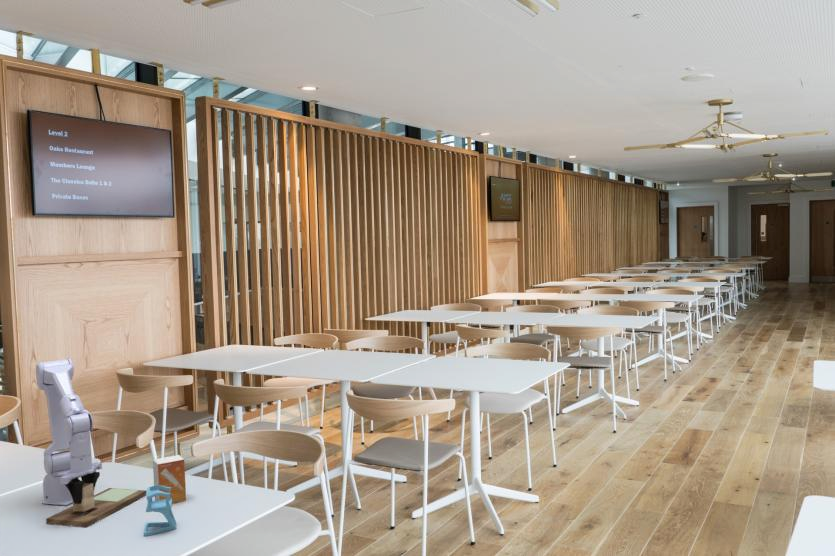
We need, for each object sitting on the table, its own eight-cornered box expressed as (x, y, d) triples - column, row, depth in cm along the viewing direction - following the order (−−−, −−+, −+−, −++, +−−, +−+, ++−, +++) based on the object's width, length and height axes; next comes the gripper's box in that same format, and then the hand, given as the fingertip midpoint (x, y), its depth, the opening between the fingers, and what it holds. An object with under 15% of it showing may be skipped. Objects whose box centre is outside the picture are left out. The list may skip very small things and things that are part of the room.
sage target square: (89, 500, 219) (89, 499, 219) (112, 489, 229) (112, 488, 229) (117, 502, 217) (117, 501, 217) (138, 491, 226) (138, 490, 226)
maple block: (73, 510, 209) (71, 487, 209) (83, 505, 213) (81, 482, 212) (84, 511, 208) (83, 487, 208) (94, 506, 212) (93, 483, 211)
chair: (175, 532, 196) (173, 488, 195) (143, 536, 193) (141, 492, 193) (176, 522, 203) (175, 480, 203) (145, 526, 201) (143, 483, 200)
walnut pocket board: (46, 523, 206) (46, 518, 206) (109, 492, 231) (109, 488, 231) (86, 527, 202) (86, 522, 202) (146, 495, 227) (146, 490, 227)
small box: (159, 506, 216) (157, 464, 215) (154, 501, 221) (152, 459, 220) (187, 500, 220) (184, 458, 220) (181, 495, 225) (178, 454, 225)
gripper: (73, 463, 201) (76, 510, 202) (109, 448, 215) (111, 492, 216) (52, 461, 203) (56, 508, 204) (89, 447, 217) (92, 491, 218)
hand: (83, 500), depth 210 cm, fingers closed on maple block, 4 cm apart
